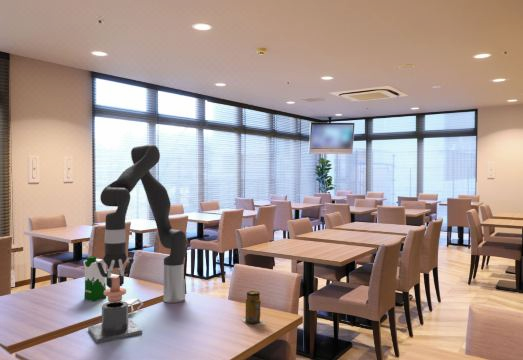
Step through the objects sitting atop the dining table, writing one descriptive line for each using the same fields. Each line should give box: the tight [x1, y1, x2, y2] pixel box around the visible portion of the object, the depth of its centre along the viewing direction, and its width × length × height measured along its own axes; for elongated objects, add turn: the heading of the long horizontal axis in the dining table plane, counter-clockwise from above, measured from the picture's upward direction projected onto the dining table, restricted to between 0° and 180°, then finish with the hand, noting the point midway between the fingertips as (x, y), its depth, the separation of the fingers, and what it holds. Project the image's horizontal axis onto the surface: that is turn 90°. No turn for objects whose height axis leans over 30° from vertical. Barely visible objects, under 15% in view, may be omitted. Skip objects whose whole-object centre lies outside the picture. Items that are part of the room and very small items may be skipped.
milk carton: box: [82, 255, 107, 302], centre depth 200 cm, size 9×9×20 cm
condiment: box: [240, 290, 267, 327], centre depth 172 cm, size 7×8×12 cm
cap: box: [104, 275, 127, 302], centre depth 159 cm, size 8×8×8 cm
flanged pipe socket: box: [87, 300, 143, 344], centre depth 159 cm, size 16×14×10 cm
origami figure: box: [123, 298, 144, 316], centre depth 181 cm, size 12×8×5 cm
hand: (114, 286), depth 159 cm, fingers closed on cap, 3 cm apart
